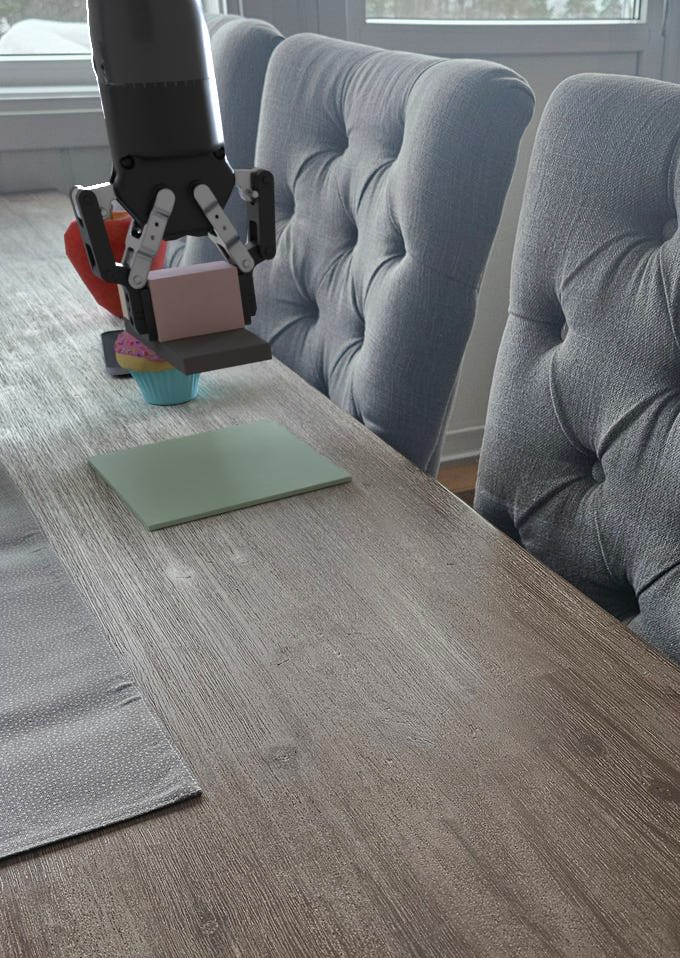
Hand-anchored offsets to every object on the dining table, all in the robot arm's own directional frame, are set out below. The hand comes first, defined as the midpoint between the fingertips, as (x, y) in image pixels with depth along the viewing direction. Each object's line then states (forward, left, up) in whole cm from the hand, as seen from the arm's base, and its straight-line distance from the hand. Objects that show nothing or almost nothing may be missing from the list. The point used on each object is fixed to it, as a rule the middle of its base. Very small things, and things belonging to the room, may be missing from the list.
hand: (197, 330), depth 82 cm
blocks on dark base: (0, +1, -1) cm, 2 cm away
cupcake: (+3, +21, -11) cm, 24 cm away
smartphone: (+5, +36, -11) cm, 38 cm away
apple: (+9, +53, -11) cm, 55 cm away
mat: (0, +1, -11) cm, 11 cm away
